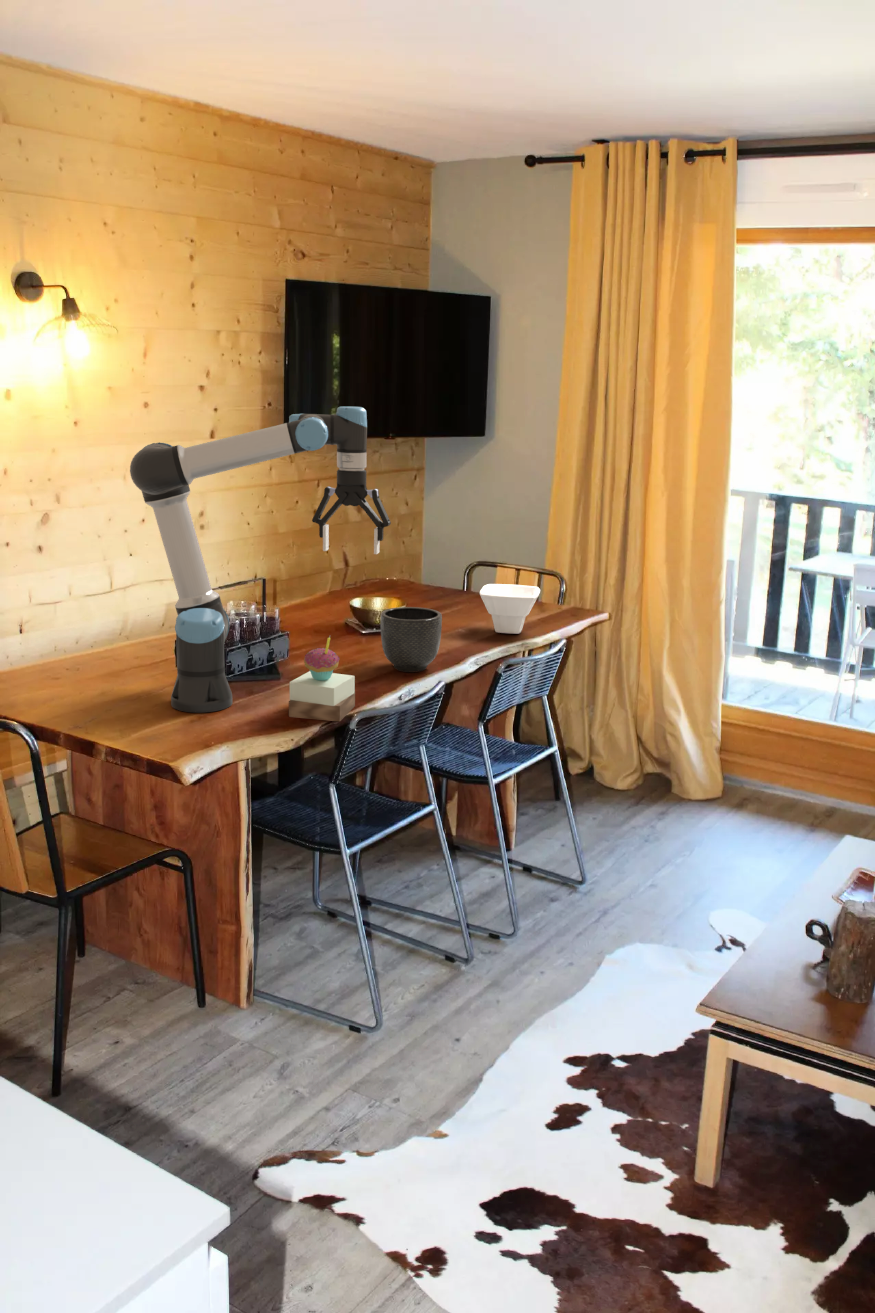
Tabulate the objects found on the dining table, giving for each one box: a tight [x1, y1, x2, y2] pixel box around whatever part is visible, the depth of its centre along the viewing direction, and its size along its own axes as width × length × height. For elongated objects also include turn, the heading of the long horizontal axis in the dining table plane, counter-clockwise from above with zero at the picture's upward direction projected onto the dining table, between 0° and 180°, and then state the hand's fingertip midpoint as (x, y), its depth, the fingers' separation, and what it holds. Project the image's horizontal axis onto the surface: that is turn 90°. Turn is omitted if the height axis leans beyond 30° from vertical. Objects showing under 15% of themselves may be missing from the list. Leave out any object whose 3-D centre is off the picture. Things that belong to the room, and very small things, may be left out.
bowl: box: [479, 583, 541, 635], centre depth 372 cm, size 19×19×14 cm
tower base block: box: [288, 692, 356, 722], centre depth 288 cm, size 13×13×4 cm
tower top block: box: [289, 670, 356, 706], centre depth 287 cm, size 12×12×4 cm
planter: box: [380, 606, 443, 673], centre depth 327 cm, size 17×17×16 cm
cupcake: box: [303, 635, 340, 681], centre depth 283 cm, size 9×8×12 cm
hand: (351, 551), depth 299 cm, fingers open, 13 cm apart
